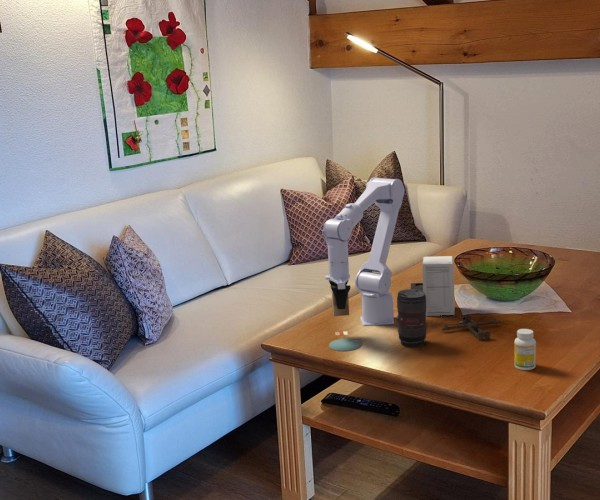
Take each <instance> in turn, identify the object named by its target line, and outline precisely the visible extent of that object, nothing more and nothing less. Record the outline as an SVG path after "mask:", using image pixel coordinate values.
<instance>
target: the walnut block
mask: <svg viewBox="0 0 600 500" xmlns="http://www.w3.org/2000/svg"><path fill="white" fill-rule="evenodd" d="M331 299H332V300H331V303H332V315H333V317H340V316H341V317H342V316H343V317H344V316H350V304H349V301H350V300H349V294H348V295H347V301H346V307H345V309H338V308H337V304H336V300H335V296H334V293H333V291H332V290H331Z"/></svg>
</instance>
